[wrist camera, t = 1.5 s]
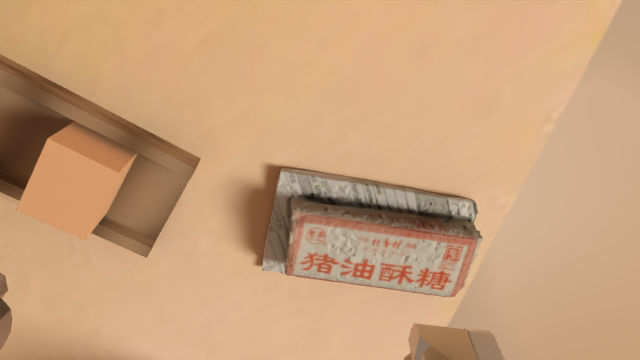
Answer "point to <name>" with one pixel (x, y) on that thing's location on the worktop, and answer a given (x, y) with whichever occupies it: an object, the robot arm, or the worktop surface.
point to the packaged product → (370, 234)
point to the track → (67, 107)
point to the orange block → (76, 179)
